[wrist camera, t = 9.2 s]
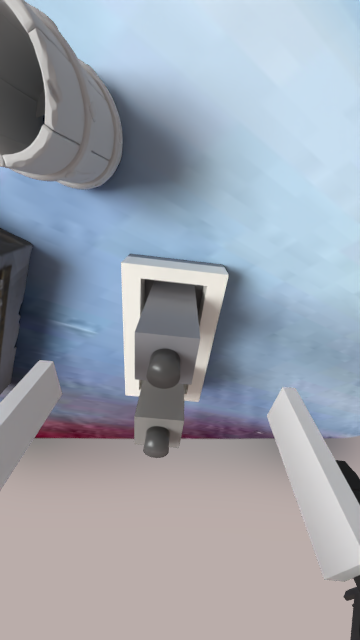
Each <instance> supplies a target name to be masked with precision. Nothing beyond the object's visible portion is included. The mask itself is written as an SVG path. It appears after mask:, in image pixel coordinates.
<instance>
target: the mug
mask: <svg viewBox="0 0 360 640" xmlns="http://www.w3.org/2000/svg"><path fill="white" fill-rule="evenodd" d="M43 115H45V124H43ZM122 148H123V135H122V126H121V121H120V117H119V114H118V111H117V108H116V105H115V103H114V100H113V98H112V96H111V94H110V92H109V91H108V89H107V88H106V86H105V85H104V83H103V82H102V80H101V79H100V78H99V77H98V76H97V74H96V72H95V71H94V70H93V69H92V68H91V67H90V66H89V65H88V64H85V63H84V62H83V61H81V60H80V59H78V58H77V56H76V55H75V53H74V51H73V50H72V48H71V47H70V45H69V44H68V43H67V41H66V40H65V39H64V37H63V36H62V35H61V33H60V32H59V30H58V28H57V26H56V25H55V23H54V22H53V21H52V20H51V19H50V18H49V17H48V16H47V15H45V14H44V13H43V12H41V11H39V10H38V9H37V8H35V7H33V6H31V5H29V4H28V3H26V2H25V1H24V0H0V166H1V167H5V168H10V169H11V170H13V171H15V172H17V173H19V174H22V175H24V176H27V177H29V178H33V179H37V180H43V181H57V182H59V183H61V184H63V185H65V186H68V187H71V188H75V189H92V188H96V187H99V186H101V185H102V184H104V183H105V182H106V181H107V180H108V179H109V178H110V177H111V176H112V175H113V174H114V172H115V171H116V169H117V166H118V165H119V163H120V160H121V156H122Z"/></svg>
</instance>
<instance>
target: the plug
mask: <svg viewBox="0 0 360 640" xmlns="http://www.w3.org/2000/svg"><path fill="white" fill-rule="evenodd" d="M199 344H200V330H199V321H198V312H197V303H196V294H195V285H189V284H180V283H171V282H162V281H154V282H153V285H152V288H151V290H150V293H149V296H148V298H147V301H146V303H145V306H144V309H143V311H142V314H141V317H140V319H139V322H138V325H137V327H136V330H135V379H136V380H147V381H148V382H149V383H150V384H151V385H153V386H154V387H157V388H161V389H168V388H172V387H174V386H175V385H177V384H189V385H191V384H192V379H193V374H194V369H195V364H196V359H197V354H198V349H199Z"/></svg>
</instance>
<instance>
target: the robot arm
mask: <svg viewBox="0 0 360 640" xmlns="http://www.w3.org/2000/svg"><path fill="white" fill-rule="evenodd" d="M61 395H62V391H61V388H60V384H59V380H58V377H57V373H56V370H55V366H54V362H53V361H44V360H39V361H38V362H37V363H36V364H35V365H34V367H33V368H32V369H31V370H30V371H29V372H28V373H27V374H26V375H25V376H24V378H23V379H22V380H21V381H20V382H19V383H18V384H17V385H16V386H15V387H14V388H13V390H12V391H11V392H10V393H9V394H8V395H7V396H6V397H5V398H4V399H3V401H2V402H1V403H0V490H1V489H2V487H3V486H4V484H5V483H6V481H7V479H8V478H9V476H10V475H11V473H12V472H13V470H14V469H15V467H16V465H17V464H18V462H19V461H20V459H21V458H22V456H23V455H24V453H25V451H26V450H27V448H28V447H29V445H30V444H31V442H32V440H33V439H34V437H35V436H36V434H37V433H38V431H39V430H40V428H41V426H42V425H43V423H44V422H45V420H46V419H47V417H48V416H49V414H50V412H51V411H52V409H53V408H54V406H55V405H56V403H57V402H58V400H59V398H60V397H61ZM267 417H268V420H269V423H270V426H271V429H272V432H273V435H274V437H275V440H276V443H277V446H278V449H279V452H280V455H281V458H282V460H283V463H284V466H285V469H286V472H287V474H288V478H289V480H290V483H291V486H292V489H293V492H294V495H295V497H296V500H297V503H298V506H299V509H300V512H301V515H302V518H303V520H304V523H305V526H306V529H307V532H308V535H309V538H310V540H311V543H312V546H313V549H314V552H315V555H316V558H317V561H318V563H319V566H320V569H321V572H322V575H323V578H324V580H334V581H347V580H350V579H352V578H354V581H355V583H356V585H357V587H355V588H352V589H349V590H348V591H346V592H345V595H344V598H345V599H346V600H347V601H348V600H352V599H354V604H353V605H352V606H353V607H354V608H353V618H352V630H351V640H360V479H359V477H358V476H357V474H356V473H355V472H354V471H353V470H352V469H351V468H350V467H349V466H348V464H347V463H346V462H345V461H338V460H335V459H334V457H333V455H332V454H331V452H330V450H329V448H328V446H327V444H326V443H325V441H324V439H323V437H322V435H321V433H320V432H319V430H318V428H317V426H316V424H315V423H314V421H313V419H312V417H311V415H310V413H309V412H308V410H307V408H306V406H305V404H304V402H303V401H302V399H301V397H300V395H299V393H298V392H297V390H296V388H289V387H282V389H281V391H280V393H279V394H278V396H277V398H276V400H275V402H274V404H273V406H272V407H271V409H270V411H269V413H268V415H267Z"/></svg>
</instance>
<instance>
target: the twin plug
mask: <svg viewBox="0 0 360 640" xmlns="http://www.w3.org/2000/svg"><path fill="white" fill-rule="evenodd" d="M183 424H184V384H177V385H175V386H174V387H172V388H168V389H161V388H157V387H154V386H153V385H151V384H150V383H149V382H148V381H147V380H143V382H142V387H141V391H140V395H139V400H138V404H137V408H136V412H135V444H138V445H144V450H143V451H144V453H145V454H146V455H148V456H150V457H155V458H160V457H164V456H166V455H167V454H168V451H169V447H175V448H179V444H180V439H181V434H182V429H183Z"/></svg>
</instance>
